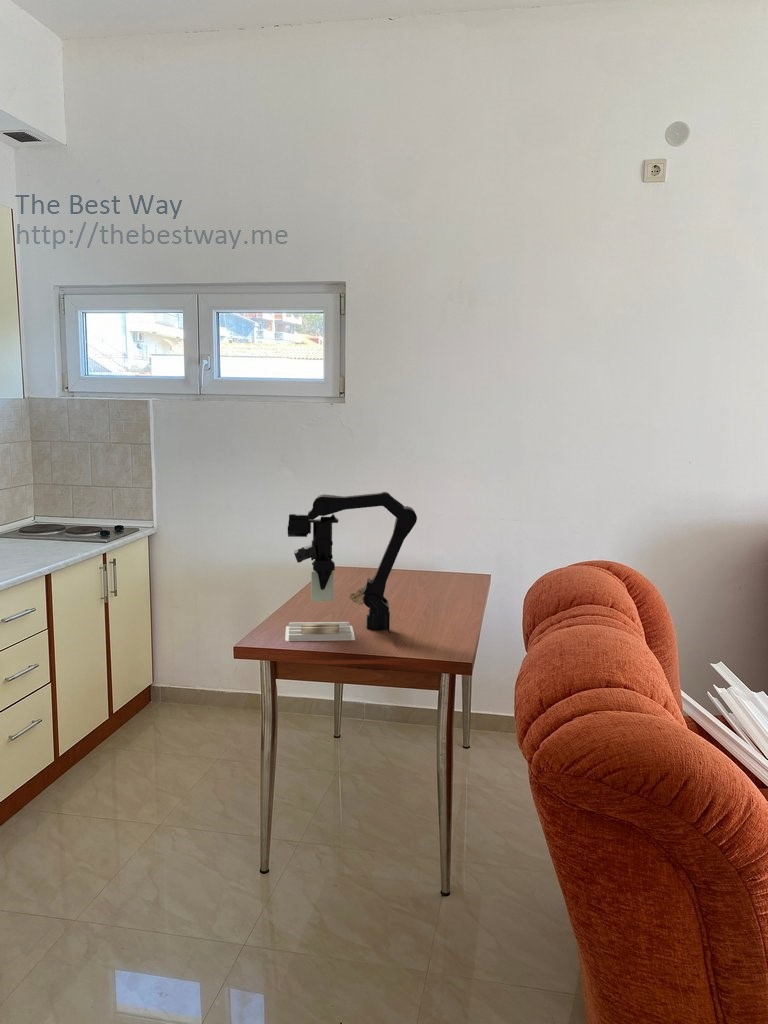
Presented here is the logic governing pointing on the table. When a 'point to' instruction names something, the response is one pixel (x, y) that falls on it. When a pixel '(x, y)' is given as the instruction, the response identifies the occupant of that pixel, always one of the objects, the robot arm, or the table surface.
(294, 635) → the slot rack
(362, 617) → the table surface
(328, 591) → the sage green block
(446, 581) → the table surface
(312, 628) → the offcut bundle
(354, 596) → the wooden fragment
